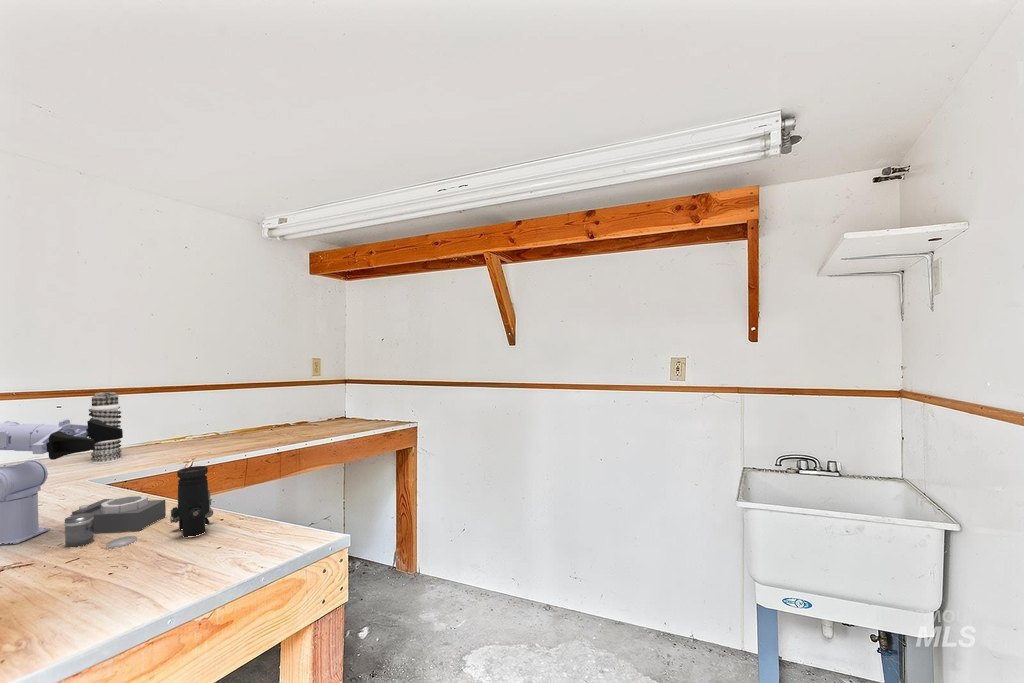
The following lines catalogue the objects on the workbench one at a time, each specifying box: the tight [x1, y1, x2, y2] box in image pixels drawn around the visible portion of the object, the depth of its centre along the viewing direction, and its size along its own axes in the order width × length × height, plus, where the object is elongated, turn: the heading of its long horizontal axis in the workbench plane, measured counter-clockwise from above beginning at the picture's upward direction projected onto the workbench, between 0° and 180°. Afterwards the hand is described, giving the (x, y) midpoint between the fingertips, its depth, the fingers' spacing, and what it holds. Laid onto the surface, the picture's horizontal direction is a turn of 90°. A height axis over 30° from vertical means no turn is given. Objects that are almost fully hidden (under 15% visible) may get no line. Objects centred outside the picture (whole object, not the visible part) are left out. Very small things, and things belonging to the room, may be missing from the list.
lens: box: [63, 513, 95, 548], centre depth 101 cm, size 4×4×6 cm
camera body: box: [71, 494, 167, 534], centre depth 111 cm, size 14×9×6 cm, turn 94°
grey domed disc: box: [105, 535, 138, 549], centre depth 100 cm, size 5×5×1 cm
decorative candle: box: [88, 391, 122, 465], centre depth 178 cm, size 9×9×25 cm
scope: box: [169, 465, 214, 538], centre depth 105 cm, size 8×14×10 cm
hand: (107, 439), depth 105 cm, fingers open, 7 cm apart
